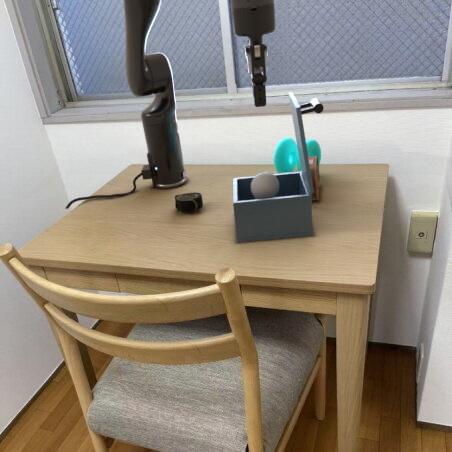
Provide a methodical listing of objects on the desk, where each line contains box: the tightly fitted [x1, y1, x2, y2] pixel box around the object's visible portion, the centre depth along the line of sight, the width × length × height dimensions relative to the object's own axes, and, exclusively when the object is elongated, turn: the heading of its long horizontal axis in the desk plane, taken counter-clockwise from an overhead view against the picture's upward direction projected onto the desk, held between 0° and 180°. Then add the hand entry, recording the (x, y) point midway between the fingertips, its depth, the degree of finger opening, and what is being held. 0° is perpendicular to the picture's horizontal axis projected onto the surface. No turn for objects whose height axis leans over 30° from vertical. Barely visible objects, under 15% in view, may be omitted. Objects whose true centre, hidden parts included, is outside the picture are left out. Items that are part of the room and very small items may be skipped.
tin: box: [308, 155, 321, 201], centre depth 116 cm, size 15×3×8 cm, turn 168°
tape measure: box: [174, 192, 204, 214], centre depth 117 cm, size 7×7×4 cm
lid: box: [287, 91, 325, 193], centre depth 96 cm, size 17×15×5 cm
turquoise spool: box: [273, 136, 322, 174], centre depth 127 cm, size 10×10×10 cm
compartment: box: [232, 171, 313, 243], centre depth 104 cm, size 16×15×9 cm
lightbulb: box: [251, 171, 280, 199], centre depth 103 cm, size 6×6×11 cm
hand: (259, 101), depth 92 cm, fingers open, 8 cm apart
